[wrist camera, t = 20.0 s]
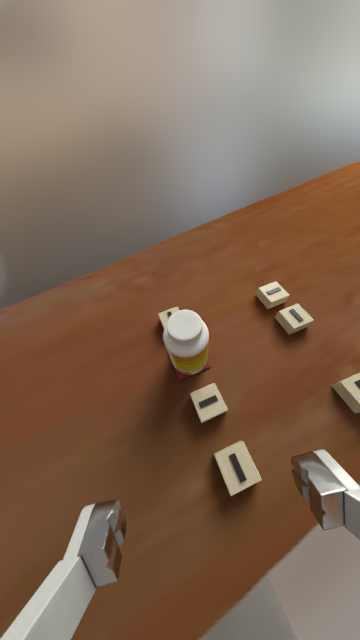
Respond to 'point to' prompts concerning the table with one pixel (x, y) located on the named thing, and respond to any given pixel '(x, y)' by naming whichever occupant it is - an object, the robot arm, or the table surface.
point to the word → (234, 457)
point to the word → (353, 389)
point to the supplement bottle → (186, 341)
